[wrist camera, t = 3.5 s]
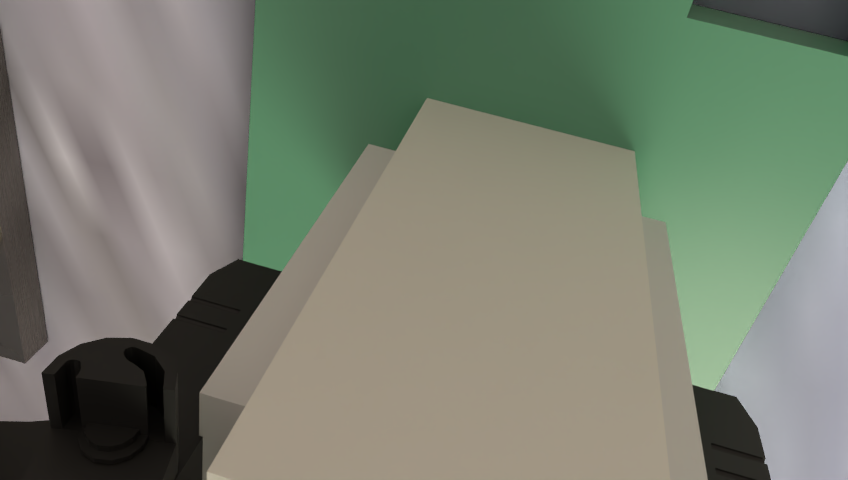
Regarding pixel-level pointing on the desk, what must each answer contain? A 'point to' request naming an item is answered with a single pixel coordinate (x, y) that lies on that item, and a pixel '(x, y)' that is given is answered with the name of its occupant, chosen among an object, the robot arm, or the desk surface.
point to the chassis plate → (16, 246)
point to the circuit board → (579, 75)
